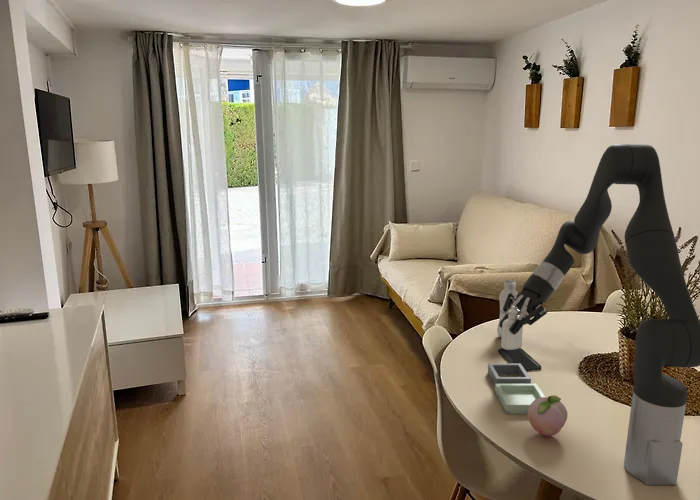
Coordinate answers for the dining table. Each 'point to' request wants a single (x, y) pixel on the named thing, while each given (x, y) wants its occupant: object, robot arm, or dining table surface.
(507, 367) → the grey square tray
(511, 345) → the eye dropper bottle
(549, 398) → the decorative fruit
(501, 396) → the tray
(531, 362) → the phone
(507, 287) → the plastic bottle
